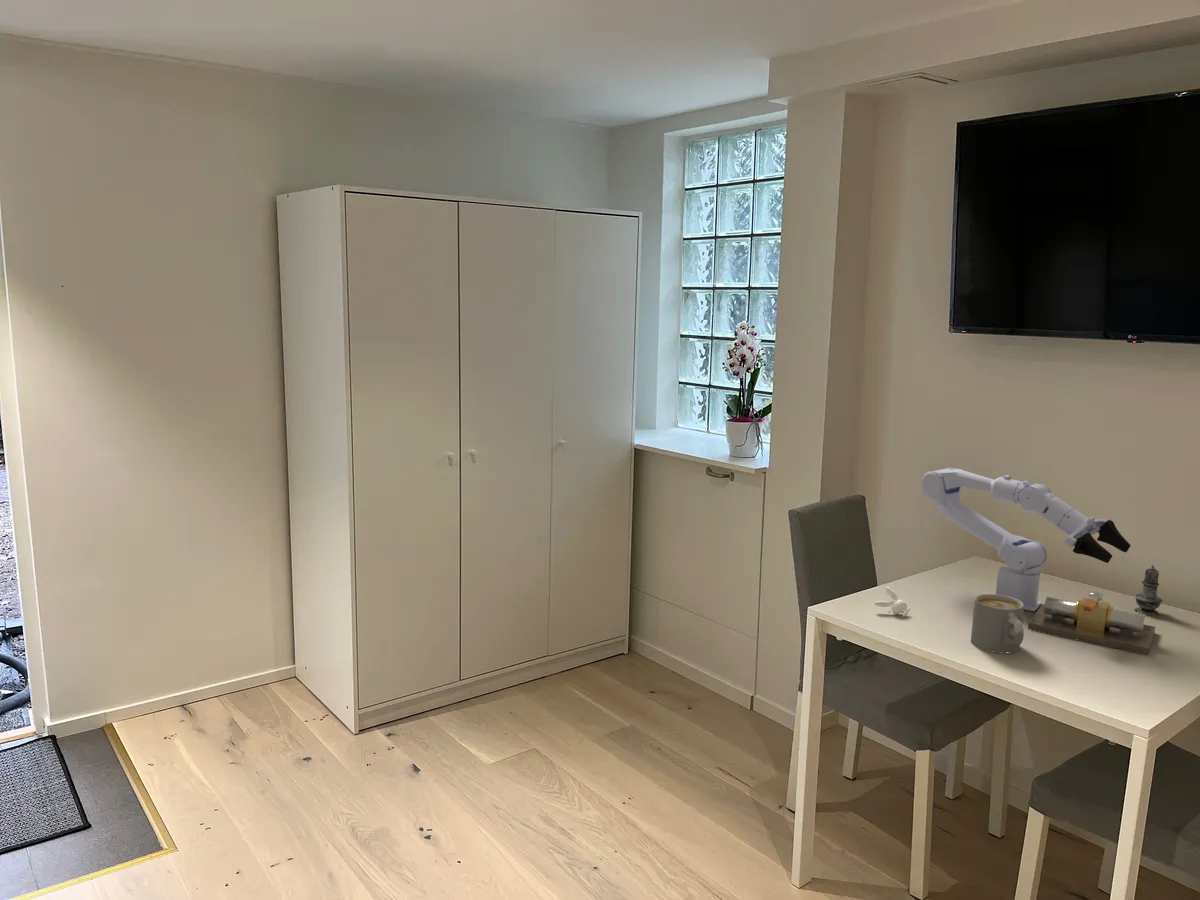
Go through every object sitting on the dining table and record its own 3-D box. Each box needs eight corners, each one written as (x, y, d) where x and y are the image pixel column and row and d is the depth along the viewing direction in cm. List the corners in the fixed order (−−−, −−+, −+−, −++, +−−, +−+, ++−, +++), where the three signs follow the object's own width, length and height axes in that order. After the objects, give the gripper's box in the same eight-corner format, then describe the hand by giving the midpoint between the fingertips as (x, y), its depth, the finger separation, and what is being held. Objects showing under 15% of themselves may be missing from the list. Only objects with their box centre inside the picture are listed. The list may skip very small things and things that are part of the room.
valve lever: (1089, 596, 214) (1090, 590, 213) (1102, 598, 212) (1103, 592, 212) (1080, 611, 204) (1081, 604, 203) (1094, 613, 202) (1095, 607, 202)
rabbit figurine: (902, 620, 218) (873, 599, 221) (898, 627, 221) (870, 606, 224) (916, 603, 220) (887, 583, 224) (912, 610, 223) (884, 590, 227)
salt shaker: (1164, 617, 223) (1171, 569, 221) (1138, 615, 224) (1144, 567, 222) (1155, 609, 229) (1161, 562, 226) (1129, 606, 230) (1135, 560, 228)
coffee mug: (963, 635, 209) (968, 593, 207) (1008, 636, 209) (1012, 594, 207) (987, 659, 196) (991, 614, 194) (1034, 660, 196) (1039, 615, 194)
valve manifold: (1028, 629, 213) (1031, 597, 212) (1041, 610, 226) (1045, 580, 225) (1147, 654, 200) (1151, 621, 198) (1154, 632, 213) (1159, 601, 211)
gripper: (1056, 515, 213) (1109, 551, 204) (1091, 497, 220) (1144, 531, 211) (1044, 537, 217) (1095, 574, 208) (1079, 519, 224) (1130, 553, 216)
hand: (1119, 554), depth 210 cm, fingers open, 7 cm apart
